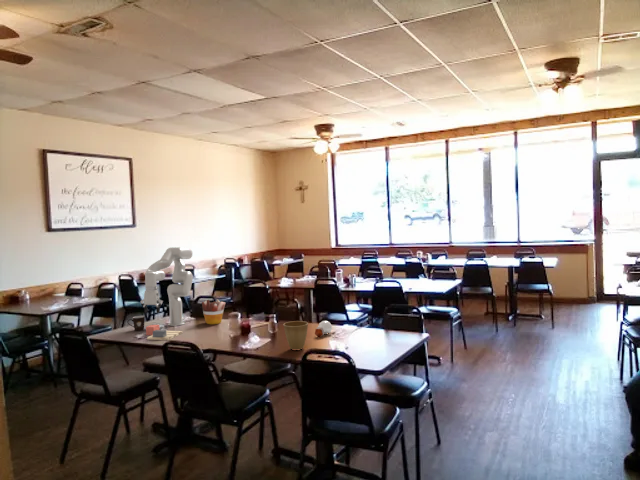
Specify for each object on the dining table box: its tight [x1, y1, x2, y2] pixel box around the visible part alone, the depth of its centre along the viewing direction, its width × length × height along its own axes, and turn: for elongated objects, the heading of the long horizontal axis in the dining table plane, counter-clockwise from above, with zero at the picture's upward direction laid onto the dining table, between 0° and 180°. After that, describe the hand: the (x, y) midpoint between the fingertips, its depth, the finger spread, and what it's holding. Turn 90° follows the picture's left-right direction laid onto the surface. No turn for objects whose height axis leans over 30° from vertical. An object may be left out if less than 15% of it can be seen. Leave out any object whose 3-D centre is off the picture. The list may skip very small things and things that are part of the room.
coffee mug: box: [127, 315, 146, 332], centre depth 371 cm, size 12×9×10 cm
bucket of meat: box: [201, 298, 226, 325], centre depth 389 cm, size 20×16×20 cm
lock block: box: [145, 324, 161, 336], centre depth 357 cm, size 8×6×6 cm
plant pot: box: [283, 320, 309, 350], centre depth 303 cm, size 15×15×16 cm
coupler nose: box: [153, 329, 167, 337], centre depth 342 cm, size 4×8×4 cm, turn 78°
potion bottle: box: [314, 320, 333, 337], centre depth 338 cm, size 9×10×15 cm
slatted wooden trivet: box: [146, 330, 183, 341], centre depth 349 cm, size 20×16×2 cm
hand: (151, 312), depth 356 cm, fingers open, 9 cm apart
